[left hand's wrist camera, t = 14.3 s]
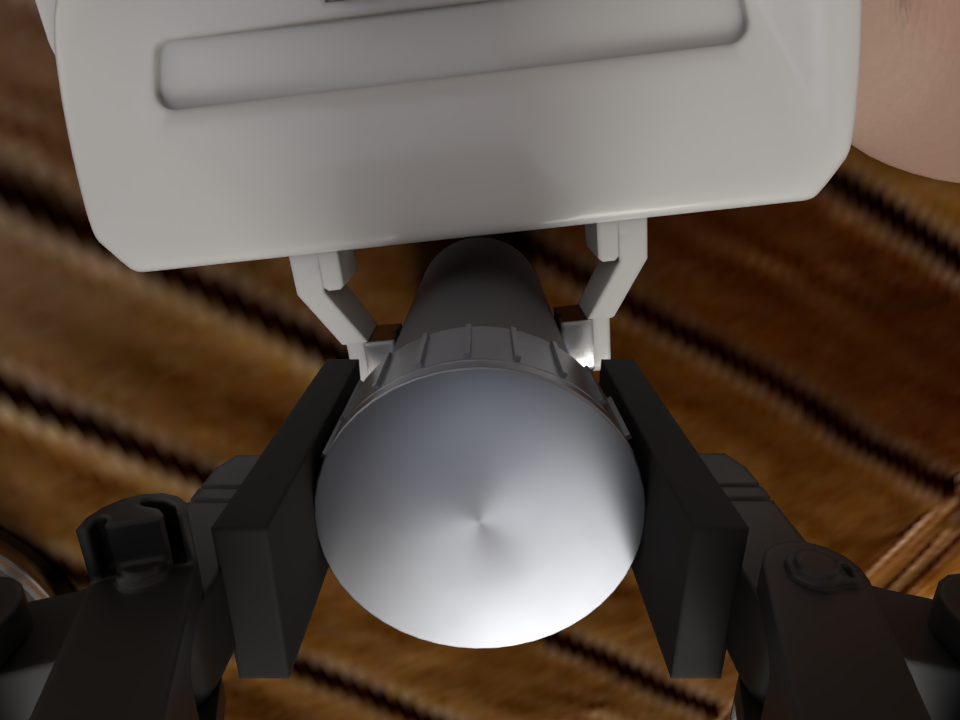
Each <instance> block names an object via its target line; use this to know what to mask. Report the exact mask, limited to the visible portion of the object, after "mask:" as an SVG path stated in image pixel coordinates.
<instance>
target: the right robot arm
mask: <svg viewBox="0 0 960 720" xmlns="http://www.w3.org/2000/svg"><path fill="white" fill-rule="evenodd" d="M35 1H36V4H37V7H38V11H39V14H40V17H41V20H42V23H43V26H44V29H45V32H46V36H47V39H48V41H49V44H50V46H51V48H52V50H53V52H54V54H55V56H56V65H57V72H58V79H59V85H60V92H61V99H62V104H63V110H64V116H65V122H66V127H67V131H68V136H69V141H70V146H71V151H72V156H73V160H74V165H75V169H76V173H77V177H78V182H79V186H80V190H81V194H82V197H83V201H84V205H85V209H86V213H87V216H88V219H89V222H90V225H91V228H92V230H93V232H94V234H95V237H96V238H97V240H98V241H99V242H100V243H101V244H102V245H103V246H104V247H106V248H107V249H108V250H109V251H110V252H111V253H112V254H114V255H115V256H116V257H117V258H118V259H119V260H120V261H122V262H123V263H124V264H125V265H127V266H128V267H129V268H130V269H132V270H135V271H138V272H148V271H158V270H167V269H177V268H186V267H195V266H204V265H213V264H223V263H232V262H241V261H250V260H260V259H269V258H278V257H287V256H289V259H290V263H291V268H292V272H293V277H294V281H295V286H296V290H297V295H298V296H299V297H300V298H301V299H302V300H303V301H304V302H305V304H306V305H307V306H308V307H309V308H310V309H311V310H312V311H313V312H314V314H315V315H316V316H317V317H318V318H319V319H320V320H321V321H322V322H323V324H324V325H325V326H326V327H327V328H328V329H329V330H330V331H331V332H332V334H333V335H334V336H335V337H336V338H337V339H338V340H339V341H340V342H341V344H342V345H347V348H348V353H349V358H350V359H359V366H360V379H361V380H362V381H363V382H364V380H365V379H366V378H367V376H368V375H369V374H370V373H371V372H372V371H373V370H374V369H375V368H376V367H377V366H378V365H379V364H380V363H381V362H382V361H383V359H384V357H385V355H386V354H387V353H388V352H391V354H392V351H393V349H394V346H395V344H396V342H397V339H398V337H399V334H400V332H401V330H402V323H400V324H388V325H377V323H376V322H375V321H374V319H373V318H372V317H371V316H370V314H369V313H368V312H367V310H366V309H365V308H364V307H363V305H362V304H361V303H360V301H359V300H358V299H357V298H356V296H355V295H354V294H353V292H352V291H351V290H350V289H349V287H348V286H347V285H346V283H347V282H348V281H349V280H350V278H351V277H352V276H353V275H354V274H355V273H356V272H357V271H358V270H357V264H356V258H355V252H354V249H361V248H370V247H379V246H389V245H398V244H407V243H416V242H426V241H435V240H444V239H453V238H462V237H472V236H481V235H490V234H499V233H509V232H518V231H527V230H536V229H545V228H555V227H564V226H573V225H582V224H585V234H586V246H587V247H588V248H589V249H590V250H591V251H592V252H593V253H594V254H595V255H596V256H597V257H598V258H599V259H600V260H599V262H598V264H597V266H596V268H595V270H594V272H593V274H592V276H591V278H590V280H589V282H588V284H587V286H586V288H585V290H584V292H583V294H582V296H581V298H580V300H579V302H578V303H579V305H571V306H563V307H555V308H554V319H555V322H556V324H557V327H558V329H559V332H560V334H561V336H562V339H563V341H564V344H565V346H566V349H567V351H568V354H569V355H570V356H572V357H573V358H574V359H576V360H577V361H578V362H579V363H580V364H581V365H582V366H583V367H585V366H586V365H587V366H588V367H589V368H590V369H591V371H598V370H600V368H601V359H611V356H610V324H609V318H610V317H614V315H615V314H616V312H617V310H618V308H619V307H620V305H621V303H622V301H623V300H624V298H625V296H626V294H627V293H628V291H629V289H630V287H631V286H632V284H633V282H634V280H635V279H636V277H637V275H638V273H639V272H640V270H641V268H642V266H643V265H644V263H645V261H646V259H647V217H656V216H665V215H675V214H684V213H693V212H702V211H711V210H721V209H730V208H739V207H748V206H758V205H767V204H776V203H785V202H794V201H803V200H808V199H811V198H813V197H815V196H816V195H817V194H818V193H819V192H820V191H821V190H822V188H823V187H824V186H825V185H826V184H827V183H828V181H829V180H830V179H831V177H832V176H833V175H834V173H835V172H836V171H837V169H838V168H839V167H840V165H841V164H842V163H843V161H844V160H845V159H846V157H847V155H848V153H849V150H850V146H851V142H852V138H853V132H854V125H855V118H856V109H857V98H858V85H859V73H860V54H861V25H862V0H35Z"/></svg>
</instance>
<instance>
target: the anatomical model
mask: <svg viewBox="0 0 960 720" xmlns="http://www.w3.org/2000/svg"><path fill="white" fill-rule="evenodd" d="M851 145H853V146H854V147H856V148H858V149H859V150H861V151H862V152H864V153H865V154H867V155H868V156H870V157H872V158H875V159H877V160H879V161H881V162H883V163H885V164H887V165H890V166H893V167H896V168H898V169H901V170H904V171H907V172H910V173H913V174H917V175H921V176H925V177H929V178H932V179H936V180H942V181H949V182H955V183H960V0H862V25H861V54H860V73H859V85H858V98H857V109H856V118H855V125H854V132H853V138H852V142H851Z"/></svg>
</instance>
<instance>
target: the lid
mask: <svg viewBox="0 0 960 720" xmlns="http://www.w3.org/2000/svg"><path fill="white" fill-rule="evenodd" d="M631 438H632V437H631V435H630V433H629V431H628V429H627V427H626V425H625V423H624V421H623V419H622V417H621V415H620V413H619V412H618V410H617V408H616V406H615V404H614V402H613V400H612V398H611V396H610V397H608V398H607V397H606V395H605V394H604V392H603V390H602V389H601V387H600V386H599V384H598V383H597V381H596V380H595V378H594V375H593V373H592V371H591V369H590V368H589V367H588V366H587V365H586V366H585V367H583V366H582V365H581V364H580V363H579V362H578V361H577V360H576V359H574V358H573V357H572V356H570V355H569V354H568V353H566V352H565V351H563V350H562V349H560V348H559V347H558V345H557V343H556V342H554V341H552V342H551V343H549V342H547V341H545V340H543V339H541V338H539V337H536V336H533V335H530V334H527V333H524V332H521V331H517V330H516V327H512V326H511V327H510V329H507V328H501V327H489V326H472V324H466V327H460V328H454V329H448V330H443V331H440V332H436V333H433V334H430V335H429V333H428V332H426V333H424V334H423V336H422V338H419V339H417V340H415V341H413V342H411V343H408V344H407V345H405V346H403V347H402V348H400V349H399V350H397V351H395V352H394V353H392V354H391V352H388V353H387V354H386V355H385V357H384V359H383V361H382V362H381V363H380V364H379V365H378V366H377V367H376V368H375V369H374V370H373V371H372V372H371V373H370V374H369V375H368V376H367V378H366V379H365V380H364V382H363V381H362V380H359V382H358V383H357V385H356V387H355V389H354V391H353V393H352V395H351V397H350V399H349V401H348V403H347V405H346V407H345V409H344V411H343V413H342V414H341V416H340V418H339V420H338V422H337V424H336V426H335V428H334V430H333V432H332V434H331V436H330V438H329V440H328V442H327V444H326V446H325V448H324V450H323V452H322V455H321V458H323V461H322V463H321V467H320V470H319V473H318V476H317V480H316V486H315V492H314V515H315V524H316V532H317V538H318V541H319V544H320V547H321V550H322V553H323V556H324V558H325V560H326V562H327V564H328V566H329V568H330V570H331V571H332V573H333V574H334V576H335V577H336V579H337V580H338V582H339V583H340V585H341V586H342V587H343V588H344V589H345V590H346V592H347V593H348V594H349V595H350V596H351V597H352V598H353V599H354V600H355V601H356V602H357V603H358V604H359V605H360V606H362V607H363V608H364V609H365V610H366V611H367V612H369V613H370V614H372V615H373V616H375V617H376V618H377V619H379V620H380V621H382V622H383V623H385V624H387V625H389V626H391V627H393V628H395V629H397V630H398V631H400V632H403V633H405V634H408V635H410V636H413V637H415V638H418V639H421V640H425V641H428V642H432V643H436V644H440V645H446V646H452V647H460V648H474V649H482V648H500V647H508V646H515V645H520V644H524V643H528V642H532V641H536V640H539V639H542V638H544V637H547V636H550V635H553V634H555V633H557V632H559V631H561V630H563V629H566V628H568V627H570V626H572V625H573V624H575V623H576V622H578V621H580V620H581V619H583V618H584V617H586V616H587V615H589V614H590V613H591V612H592V611H594V610H595V609H596V608H597V607H599V606H600V605H601V604H602V603H603V602H604V601H605V600H606V599H607V598H608V597H609V596H610V595H611V594H612V593H613V592H614V591H615V590H616V588H617V587H618V586H619V584H620V583H621V582H622V580H623V579H624V578H625V576H626V575H627V573H628V571H629V569H630V568H631V566H632V564H633V562H634V560H635V558H636V555H637V553H638V550H639V548H640V545H641V542H642V538H643V533H644V526H645V518H646V507H647V503H646V492H645V485H644V481H643V477H642V473H641V469H640V467H639V464H638V462H637V459H636V457H635V455H634V452H633V450H632V448H631V446H630V444H629V442H628V440H629V439H631Z"/></svg>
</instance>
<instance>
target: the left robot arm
mask: <svg viewBox="0 0 960 720" xmlns="http://www.w3.org/2000/svg"><path fill="white" fill-rule="evenodd" d="M359 380H361V379H360V366H359V359H327V361H326V362H325V363H324V365H323V366H322V368H321V369H320V371H319V372H318V374H317V375H316V376H315V378H314V379H313V381H312V382H311V384H310V385H309V387H308V388H307V390H306V391H305V392H304V394H303V395H302V397H301V398H300V400H299V401H298V403H297V404H296V405H295V407H294V408H293V410H292V411H291V413H290V414H289V416H288V417H287V418H286V420H285V421H284V423H283V424H282V426H281V427H280V429H279V430H278V431H277V433H276V434H275V436H274V437H273V439H272V440H271V442H270V443H269V445H268V446H267V447H266V449H265V450H264V452H263V453H262V455H236V456H235V457H233V458H231V459H230V460H228V461H227V462H225V463H224V464H222V465H221V466H219V467H217V468H216V469H214V471H213V472H212V473H211V474H210V476H209V477H208V478H207V479H206V481H205V482H204V483H203V484H202V488H201V489H198V491H197V492H196V493H195V494H194V496H193V497H192V498H191V502H190V503H187V504H186V503H185V502H184V501H183V500H181V499H180V498H179V497H178V496H173V495H168V494H163V493H160V494H143V495H139V496H135V497H130V498H126V499H122V500H120V501H117V502H115V503H113V504H110V505H108V506H105V507H103V508H101V509H100V510H98V511H97V512H95V513H94V514H92V515H91V516H89V517H88V518H86V519H85V520H84V521H83V523H82V524H81V525H80V526H79V527H78V528H77V529H76V532H77V536H78V539H79V543H80V546H81V550H82V553H83V557H84V560H85V564H86V567H87V571H88V574H89V578H90V581H91V582H90V584H89V586H88V588H87V589H84V590H81V591H77V592H73V591H72V589H71V588H70V587H69V585H68V584H67V583H66V581H65V580H64V579H63V578H62V577H61V576H60V575H59V573H58V572H57V571H56V570H55V569H54V568H53V567H52V566H51V565H50V564H49V563H48V562H46V561H45V560H44V559H43V558H42V557H41V556H40V555H38V554H37V553H36V552H35V551H33V550H32V549H31V548H30V547H28V546H27V545H25V544H24V543H22V542H21V541H19V540H18V539H16V538H15V537H13V536H11V535H10V534H8V533H6V532H4V531H3V530H1V529H0V720H224V712H225V703H226V699H225V692H224V686H223V681H222V675H223V672H224V670H225V668H226V666H227V664H228V662H229V660H230V658H231V656H232V654H233V652H234V653H235V658H236V663H237V668H238V674H239V678H289V677H290V674H291V672H292V669H293V666H294V663H295V660H296V657H297V655H298V652H299V649H300V646H301V643H302V640H303V638H304V635H305V632H306V629H307V626H308V624H309V621H310V618H311V615H312V612H313V609H314V607H315V604H316V601H317V598H318V595H319V592H320V590H321V587H322V584H323V581H324V578H325V575H326V573H327V570H328V567H329V566H328V564H327V562H326V560H325V558H324V556H323V553H322V550H321V547H320V544H319V541H318V538H317V532H316V524H315V515H314V492H315V486H316V480H317V476H318V473H319V470H320V467H321V463H322V461H323V458H321V455H322V452H323V450H324V448H325V446H326V444H327V442H328V440H329V438H330V436H331V434H332V432H333V430H334V428H335V426H336V424H337V422H338V420H339V418H340V416H341V414H342V413H343V411H344V409H345V407H346V405H347V403H348V401H349V399H350V397H351V395H352V393H353V391H354V389H355V387H356V385H357V383H358V382H359ZM599 386H600V387H601V389H602V390H603V392H604V394H605V395H606V397H607V398H608V397H610V396H611V398H612V400H613V402H614V404H615V406H616V408H617V410H618V412H619V413H620V415H621V417H622V419H623V421H624V423H625V425H626V427H627V429H628V431H629V433H630V435H631V437H632V438H631V439H629V440H628V442H629V444H630V446H631V448H632V450H633V452H634V455H635V457H636V459H637V462H638V464H639V467H640V469H641V473H642V477H643V481H644V485H645V492H646V503H647V507H646V518H645V526H644V533H643V538H642V542H641V545H640V548H639V550H638V553H637V555H636V558H635V560H634V562H633V564H632V569H633V572H634V575H635V578H636V581H637V583H638V586H639V589H640V592H641V595H642V598H643V600H644V603H645V606H646V609H647V612H648V615H649V617H650V620H651V623H652V626H653V629H654V632H655V634H656V637H657V640H658V643H659V646H660V649H661V651H662V654H663V657H664V660H665V663H666V666H667V668H668V671H669V674H670V677H671V678H721V674H722V669H723V664H724V659H725V653H726V648H727V650H728V653H729V655H730V657H731V659H732V661H733V663H734V665H735V667H736V669H737V671H738V673H739V676H738V681H737V686H736V691H735V696H734V701H733V706H732V711H731V715H730V720H960V574H952V575H947V576H946V577H945V578H943V579H942V580H941V581H939V583H938V586H937V589H936V592H935V595H934V598H933V599H929V598H924V597H919V596H914V595H910V594H905V593H900V592H895V591H891V590H886V589H882V588H878V587H875V586H872V585H871V583H870V581H869V579H868V578H867V577H866V575H865V574H864V573H863V571H862V570H861V569H860V568H859V567H858V566H857V565H855V564H854V563H853V562H851V561H850V560H849V559H847V558H846V557H845V556H843V555H841V554H839V553H837V552H835V551H832V550H830V549H828V548H826V547H823V546H819V545H816V544H812V543H808V542H806V541H805V540H804V539H803V537H802V536H801V535H800V534H799V532H798V531H797V530H796V529H795V527H794V526H793V525H792V524H791V523H790V521H789V520H788V519H787V518H786V516H785V515H784V514H783V513H782V511H781V510H780V509H779V508H778V506H777V505H776V504H775V503H774V501H773V500H770V497H769V495H768V494H767V493H766V492H765V490H764V489H763V488H762V487H759V483H758V482H757V480H756V479H755V478H754V477H753V475H752V474H751V473H750V472H749V471H748V469H747V468H746V467H745V466H743V465H741V464H740V463H738V462H737V461H735V460H734V459H732V458H730V457H729V456H727V455H726V454H698V453H697V452H696V450H695V449H694V447H693V446H692V444H691V443H690V441H689V440H688V438H687V437H686V436H685V434H684V433H683V431H682V430H681V428H680V427H679V425H678V424H677V423H676V421H675V420H674V418H673V417H672V415H671V414H670V412H669V411H668V410H667V408H666V407H665V405H664V404H663V402H662V401H661V399H660V398H659V397H658V395H657V394H656V392H655V391H654V389H653V388H652V386H651V385H650V383H649V382H648V381H647V379H646V378H645V376H644V375H643V373H642V372H641V370H640V369H639V368H638V366H637V365H636V363H635V362H634V360H633V359H601V368H600V381H599Z"/></svg>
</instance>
